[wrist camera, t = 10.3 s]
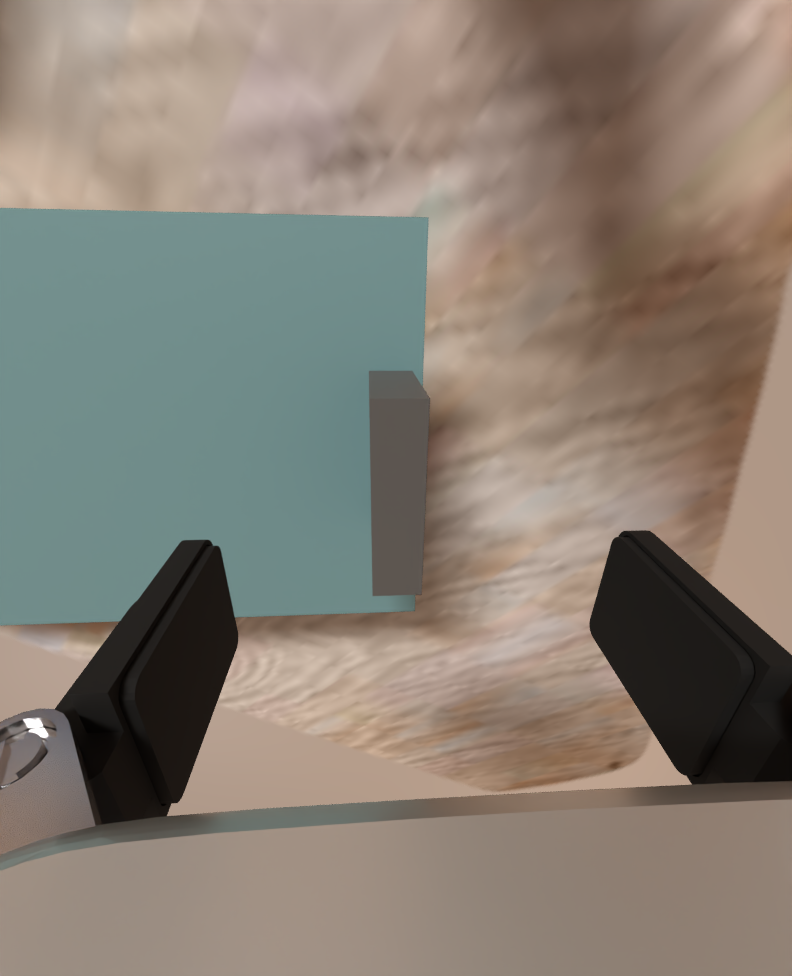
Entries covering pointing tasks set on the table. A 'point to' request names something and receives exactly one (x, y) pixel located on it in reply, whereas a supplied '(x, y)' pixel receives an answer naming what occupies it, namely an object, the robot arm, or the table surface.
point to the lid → (211, 408)
